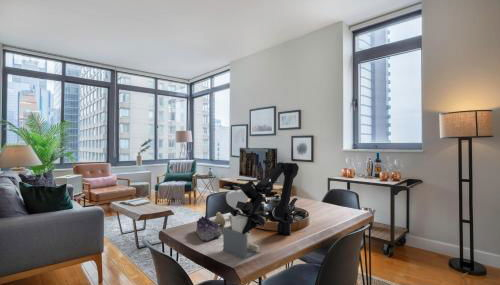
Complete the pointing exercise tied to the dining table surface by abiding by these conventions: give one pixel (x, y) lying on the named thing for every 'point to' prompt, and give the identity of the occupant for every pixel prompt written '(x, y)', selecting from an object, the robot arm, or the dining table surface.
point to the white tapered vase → (239, 224)
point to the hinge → (231, 220)
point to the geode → (207, 229)
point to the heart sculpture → (235, 198)
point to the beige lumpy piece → (219, 219)
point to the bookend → (238, 244)
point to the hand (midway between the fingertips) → (237, 232)
